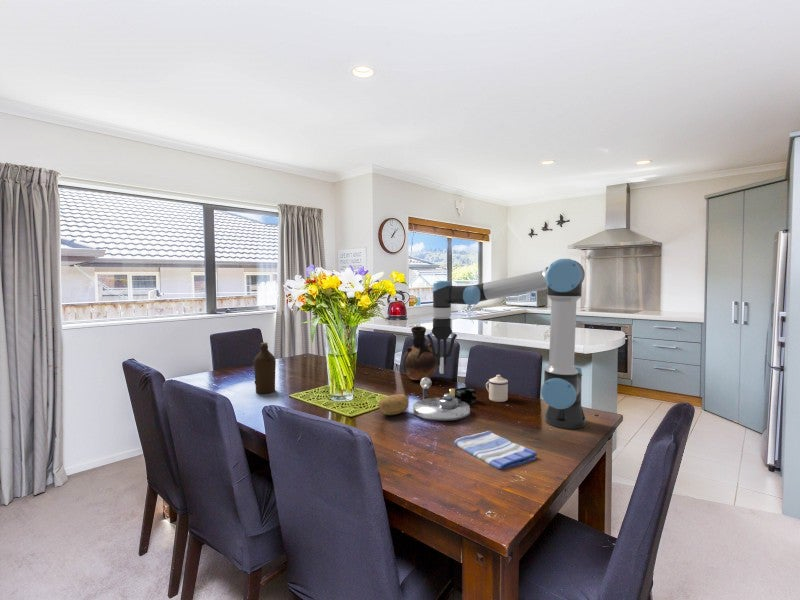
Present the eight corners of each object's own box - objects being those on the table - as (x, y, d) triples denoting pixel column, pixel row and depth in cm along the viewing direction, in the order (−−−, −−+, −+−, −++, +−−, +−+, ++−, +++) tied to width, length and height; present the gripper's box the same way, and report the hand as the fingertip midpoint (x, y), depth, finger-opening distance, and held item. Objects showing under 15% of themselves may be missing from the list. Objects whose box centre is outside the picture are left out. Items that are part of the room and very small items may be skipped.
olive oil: (280, 389, 218) (279, 341, 217) (267, 395, 208) (266, 345, 207) (263, 387, 222) (262, 340, 220) (250, 393, 212) (248, 344, 210)
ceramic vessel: (429, 374, 250) (429, 324, 248) (444, 381, 234) (444, 327, 232) (396, 378, 241) (396, 326, 239) (409, 385, 225) (409, 329, 223)
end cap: (467, 398, 201) (467, 385, 200) (477, 402, 195) (477, 388, 194) (450, 402, 196) (450, 387, 196) (459, 406, 190) (459, 391, 190)
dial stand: (431, 404, 192) (431, 377, 191) (421, 405, 191) (420, 378, 190) (429, 402, 196) (429, 375, 195) (418, 402, 195) (418, 376, 194)
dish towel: (489, 435, 156) (489, 428, 156) (539, 460, 136) (539, 451, 136) (452, 445, 148) (452, 437, 148) (499, 472, 127) (499, 463, 127)
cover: (461, 405, 180) (461, 394, 180) (452, 410, 174) (452, 398, 173) (444, 402, 185) (444, 391, 184) (435, 407, 178) (435, 395, 178)
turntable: (453, 424, 163) (453, 407, 162) (402, 413, 176) (402, 396, 176) (479, 408, 183) (479, 392, 182) (431, 399, 196) (431, 384, 196)
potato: (373, 414, 180) (373, 395, 179) (400, 408, 187) (400, 390, 187) (385, 420, 171) (385, 401, 171) (413, 414, 179) (413, 395, 179)
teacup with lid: (512, 399, 199) (512, 375, 198) (499, 403, 193) (499, 378, 193) (492, 394, 208) (492, 370, 208) (479, 397, 203) (480, 373, 202)
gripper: (456, 316, 181) (455, 370, 182) (426, 316, 181) (425, 370, 183) (458, 318, 173) (457, 375, 175) (426, 318, 174) (426, 374, 175)
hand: (441, 372), depth 179 cm, fingers closed
